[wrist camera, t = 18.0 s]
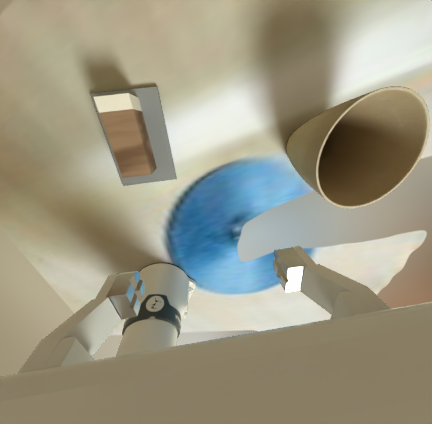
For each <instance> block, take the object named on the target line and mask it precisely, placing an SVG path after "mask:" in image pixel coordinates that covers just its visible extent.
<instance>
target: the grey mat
mask: <svg viewBox="0 0 432 424" xmlns="http://www.w3.org/2000/svg"><path fill="white" fill-rule="evenodd" d="M124 93H129V94H132V95H134V96H136V97H138V98H139V101H140V105H141V109H142V113H143V117H144V121H145V124H146V128H147V132H148V136H149V140H150V144H151V147H152V151H153V155H154V159H155V163H156V166H157V169H156V170H155V171H154V172H153V173H152V174H150V175H142V176H135V177H127V178H122V175H121V172H120V169H119V167H118V164H117V161H116V158H115V156H114V153H113V150H112V147H111V145H110V142H109V139H108V136H107V134H106V131H105V128H104V125H103V122H102V120H101V117H100V114H99V111H98V109H97V106H96V103H95V100H94V98H93V97H97V96H106V95H115V94H124ZM90 95H91V98H92V101H93V103H94V106H95V109H96V112H97V114H98V117H99V120H100V123H101V126H102V128H103V131H104V134H105V137H106V139H107V142H108V145H109V148H110V150H111V153H112V156H113V159H114V162H115V164H116V167H117V170H118V173H119V175H120V178H121V181H122V184H123V186H125V185H133V184H141V183H149V182H156V181H164V180H172V179H176V173H175V168H174V163H173V159H172V154H171V149H170V144H169V140H168V135H167V130H166V125H165V121H164V116H163V111H162V106H161V101H160V97H159V92H158V87H148V88H138V89H128V90H118V91H108V92H99V93H90Z"/></svg>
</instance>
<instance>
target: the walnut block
mask: <svg viewBox="0 0 432 424" xmlns="http://www.w3.org/2000/svg"><path fill="white" fill-rule="evenodd" d="M93 98H94V100H95V103H96V106H97V109H98V111H99V114H100V117H101V120H102V122H103V125H104V128H105V131H106V134H107V136H108V139H109V142H110V145H111V147H112V150H113V153H114V156H115V158H116V161H117V164H118V167H119V169H120V172H121V175H122V178H127V177H135V176H142V175H150V174H152V173H153V172H154V171H155V170H156V169H157V166H156V163H155V159H154V155H153V151H152V147H151V144H150V140H149V136H148V132H147V128H146V124H145V121H144V117H143V113H142V109H141V105H140V101H139V98H138V97H136V96H134V95H132V94H129V93H124V94H115V95H106V96H97V97H93Z"/></svg>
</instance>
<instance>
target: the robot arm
mask: <svg viewBox="0 0 432 424" xmlns="http://www.w3.org/2000/svg"><path fill="white" fill-rule="evenodd" d="M274 257H275V259H274V261H273V267H274V271H275V274H276V275H277V277H279V278H280V279H281V281H280V283H281V285H282V287H283V288H284V290H285V292H291V291H298V290H300V291H301V292H302V293H304V294H305V295H306V296H308V297H309V298H310V299H312V300H313V301H314V302H316V303H317V304H318V305H320V306H321V307H322V308H324V309H325V310H326V311H328V312H329V313H330V314H332V315H331V319H330V320H324V321H318V322H312V323H307V324H301V325H295V326H289V327H284V328H278V329H272V330H266V331H261V332H255V333H249V334H243V335H238V336H232V337H226V338H220V339H215V340H209V341H203V342H197V343H192V344H186V345H180V346H177V338H178V336H179V334H180V328H181V318H186V315H187V311H188V301H189V299H190V297H191V295H192V292H193V290H194V288H195V285H196V282H195V281H194V280H192V279H190V278H189V277H188V276H187V275H186V274H185V273H184V271H183V270H181V269H180V268H178V267H176V266H174V265H170V264H164V263H159V264H153V265H149V266H147V267H145V268H143V269H142V270H141V271H140V272H139V271H132V272H124V273H118V274H111V275H109V276H108V278H107V280H106V281H105V283H104V285H103V286H102V288H101V290H100V292H99V293H98V295H97V297H96V298H95V299H94V300H91V301H90V302H89V303H87V304H86V305H85V306H84V307H82V308H81V309H80V310H79V311H77V312H76V313H75V314H74V315H73V316H71V317H70V318H69V319H67V320H66V321H65V322H64V323H63V324H61V325H60V326H59V327H58V328H56V329H55V330H54V331H53V332H51V333H50V334H49V335H48V336H46V337H45V338H44V339H43V340H41V342H40V343H39V344H38V346H37V347H36V349H35V350H34V351H33V353H32V354H31V355H30V357H29V358H28V359H27V361H26V362H25V364H24V365H23V366H22V368H21V369H20V370H19V372H18V373H17V374H13V375H7V376H1V377H0V424H432V302H427V303H422V304H416V305H410V306H404V307H399V308H393V309H391V308H390V307H388V306H387V305H386V304H385V303H384V302H383V301H382V300H381V299H380V298H379V297H378V296H377V295H376V294H375V293H374V292H373V291H372V290H370V289H369V288H368V287H367V286H365V285H363V284H360V283H358V282H356V281H354V280H352V279H350V278H347V277H345V276H343V275H341V274H339V273H337V272H335V271H332V270H330V269H328V268H326V267H324V266H322V265H320V264H317V265H316V263H315V262H314V261H313V260H312V259H311V258H310V257H309V256H308V254H307V253H306V252H305V251H304V250H303V249H302V248H301V247H300V246H296V247H291V248H285V249H278V250H275V251H274ZM126 318H127V319H126ZM121 319H126V321H125V323H124V328H123V332H122V335H123V337H122V340H121V343H120V346H119V349H118V352H117V355H116V357H111V358H105V359H99V360H94V359H93V358H92V356H93V354H94V353H95V352H96V351H97V350H98V348H99V347H100V346H101V345H102V344H103V342H104V341H105V340H106V339H107V337H108V336H109V335H110V334H111V333H112V331H113V330H114V329H115V328H116V326H117V325H118V324H119V323H120V322H121Z"/></svg>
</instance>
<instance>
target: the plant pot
mask: <svg viewBox="0 0 432 424" xmlns="http://www.w3.org/2000/svg"><path fill="white" fill-rule="evenodd" d="M429 121H430V117H429V112H428V108H427V105H426V103H425V101H424V100H423V98H422V97H421V96H420V95H419V94H418V93H416V92H415V91H413V90H411V89H409V88H406V87H400V86H391V87H385V88H382V89H378V90H376V91H373V92H370V93H367V94H365V95H362V96H359V97H357V98H354V99H352V100H349V101H347V102H344V103H342V104H339V105H337V106H335V107H333V108H331V109H329V110H327V111H325V112H323V113H321V114H319V115H317V116H315V117H314V118H312V119H310V120H309V121H307V122H306V123H304V124H303V125H302V126H300V127H299V128H298V129H297V130H296V131H295V132H293V134H292V135H291V136H290V138H289V140H288V143H287V149H286V150H287V155H288V157H289V159H290V161H291V163H292V165H293V167H294V168H295V170H296V171H297V172H298V174H299V175H300V176H301V177H302V178H303V179H304V181H305V182H306V183H307V184H308V185H309V186H310V187H311V188H313V189H314V190H315V191H316V192H318V194H320V195H321V196H322V197H323V198H325V199H326V200H327V201H328V202H330V203H331V204H333V205H335V206H337V207H342V208H358V207H362V206H366V205H369V204H371V203H374V202H376V201H378V200H380V199H381V198H383V197H385V196H386V195H388V194H389V193H390V192H391V191H393V190H394V189H395V188H397V186H399V185H400V184H401V183H402V182H403V181H404V180H405V179H406V177H407V176H408V175H409V174H410V172H411V171H412V170H413V168H414V167H415V166H416V164H417V163H418V161H419V159H420V157H421V155H422V153H423V151H424V148H425V146H426V143H427V139H428V134H429Z"/></svg>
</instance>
